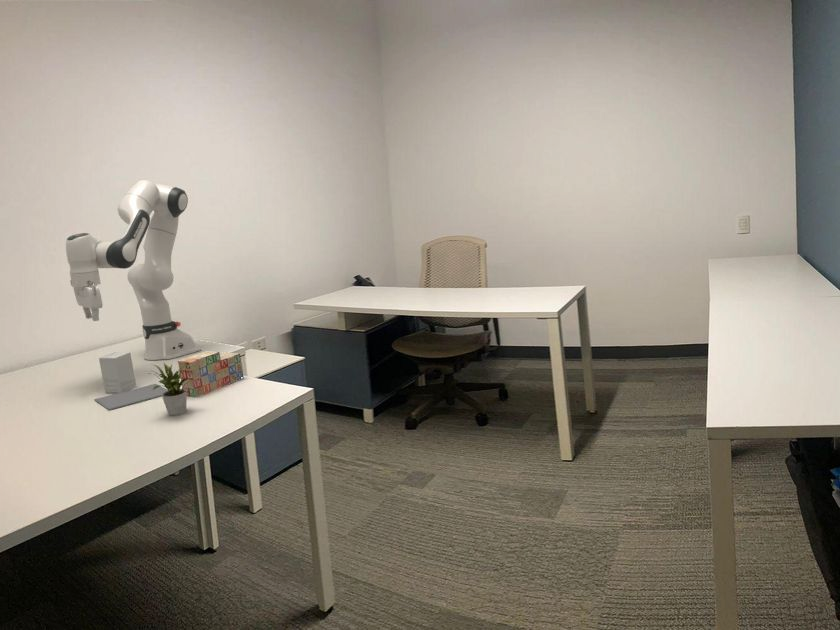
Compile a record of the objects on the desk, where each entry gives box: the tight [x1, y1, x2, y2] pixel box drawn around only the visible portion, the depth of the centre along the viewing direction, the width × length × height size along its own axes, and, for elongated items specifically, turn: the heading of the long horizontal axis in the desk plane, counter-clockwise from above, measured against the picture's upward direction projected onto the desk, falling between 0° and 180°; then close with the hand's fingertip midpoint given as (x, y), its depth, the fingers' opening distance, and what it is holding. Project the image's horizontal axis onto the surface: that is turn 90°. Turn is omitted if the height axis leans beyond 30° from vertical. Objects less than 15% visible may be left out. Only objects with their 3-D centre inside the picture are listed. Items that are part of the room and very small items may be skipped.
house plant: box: [148, 361, 192, 416], centre depth 185 cm, size 14×14×16 cm
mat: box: [94, 383, 168, 411], centre depth 206 cm, size 20×16×1 cm
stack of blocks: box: [177, 350, 245, 398], centre depth 209 cm, size 21×6×12 cm, turn 151°
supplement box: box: [98, 351, 137, 394], centre depth 214 cm, size 7×7×13 cm
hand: (92, 319), depth 217 cm, fingers open, 8 cm apart
